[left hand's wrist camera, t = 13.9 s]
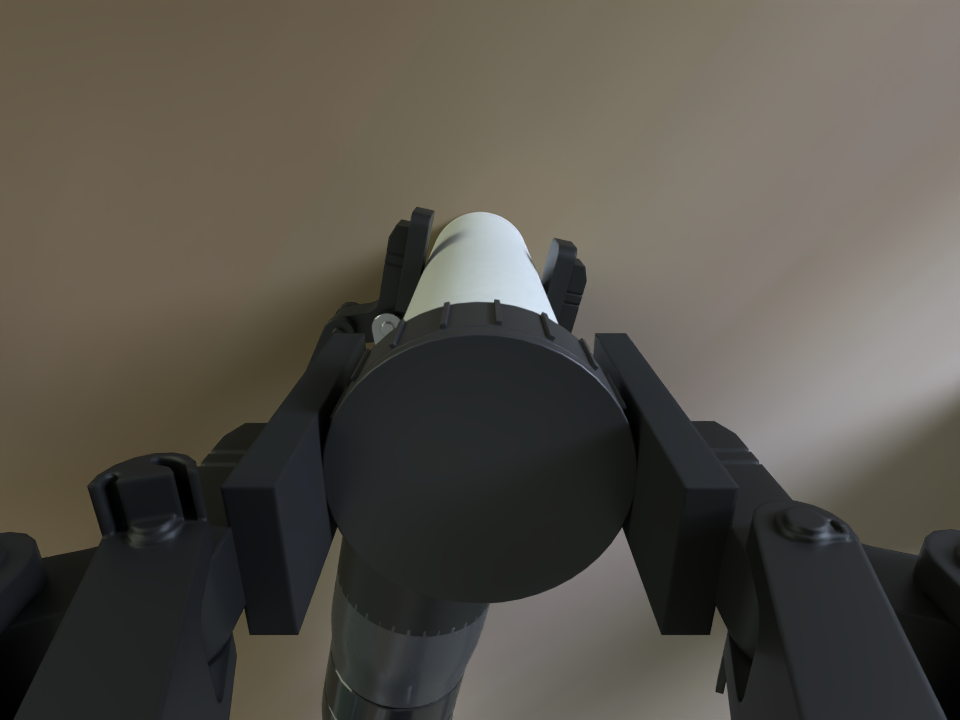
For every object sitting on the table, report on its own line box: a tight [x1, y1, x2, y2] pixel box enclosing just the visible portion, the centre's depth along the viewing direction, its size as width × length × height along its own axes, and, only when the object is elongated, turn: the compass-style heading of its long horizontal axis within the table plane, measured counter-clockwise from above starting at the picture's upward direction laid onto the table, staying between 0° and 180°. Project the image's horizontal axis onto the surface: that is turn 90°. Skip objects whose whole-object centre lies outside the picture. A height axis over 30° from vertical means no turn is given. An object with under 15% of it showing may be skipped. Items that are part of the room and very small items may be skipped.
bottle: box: [404, 212, 558, 324], centre depth 20 cm, size 5×5×19 cm
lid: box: [322, 299, 638, 604], centre depth 11 cm, size 6×6×2 cm
